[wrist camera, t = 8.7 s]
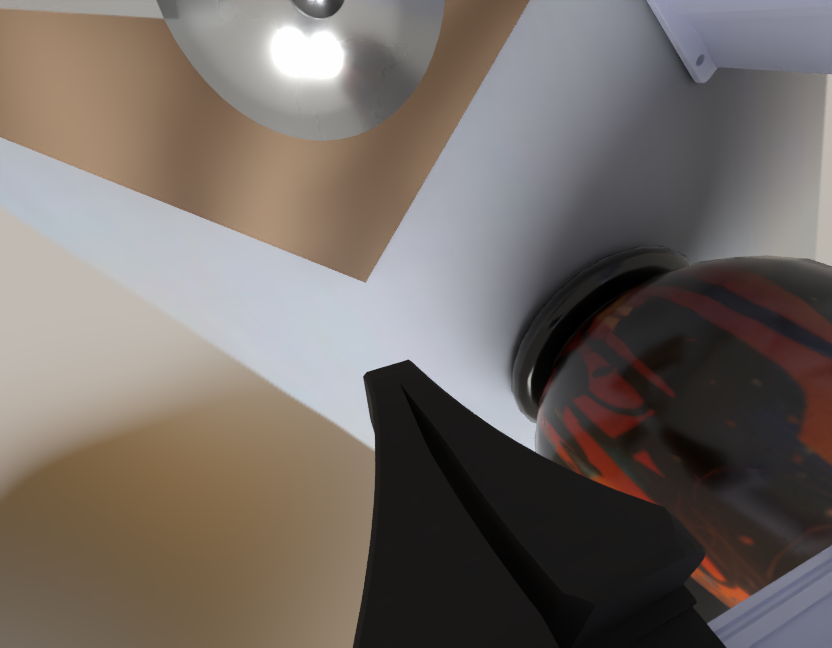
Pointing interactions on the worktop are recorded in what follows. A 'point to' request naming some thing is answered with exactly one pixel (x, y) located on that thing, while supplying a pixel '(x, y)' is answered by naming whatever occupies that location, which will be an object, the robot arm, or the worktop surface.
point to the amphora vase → (696, 402)
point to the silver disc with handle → (293, 54)
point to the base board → (235, 129)
